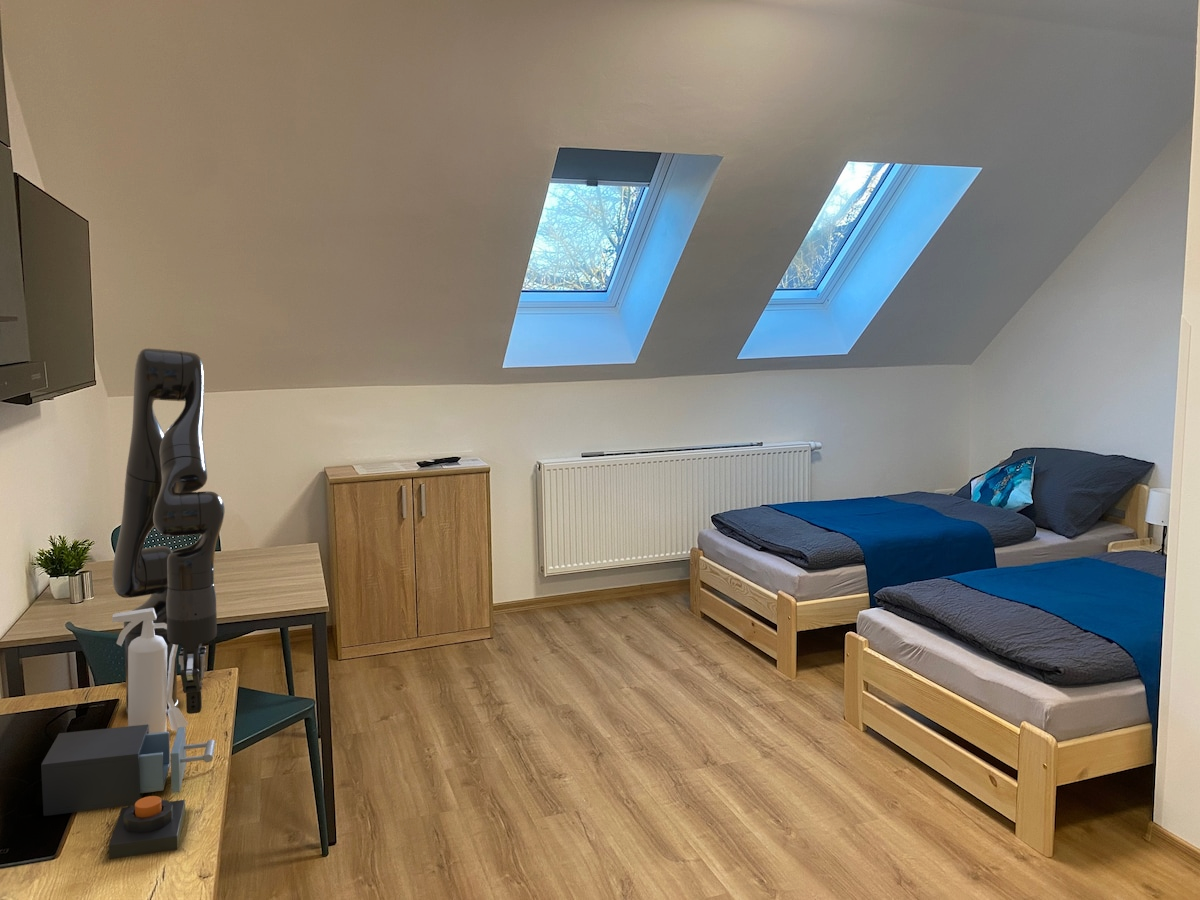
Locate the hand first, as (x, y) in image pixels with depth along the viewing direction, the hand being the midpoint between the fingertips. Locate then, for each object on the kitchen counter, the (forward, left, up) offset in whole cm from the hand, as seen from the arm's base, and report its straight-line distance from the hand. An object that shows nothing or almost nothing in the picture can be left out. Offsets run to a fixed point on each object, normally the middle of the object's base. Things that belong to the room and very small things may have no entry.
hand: (194, 711), depth 150 cm
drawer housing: (-1, -15, -13) cm, 20 cm away
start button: (+15, -5, -9) cm, 18 cm away
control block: (+15, -5, -13) cm, 20 cm away
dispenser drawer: (-1, -6, -12) cm, 14 cm away
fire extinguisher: (-21, -9, -13) cm, 27 cm away
